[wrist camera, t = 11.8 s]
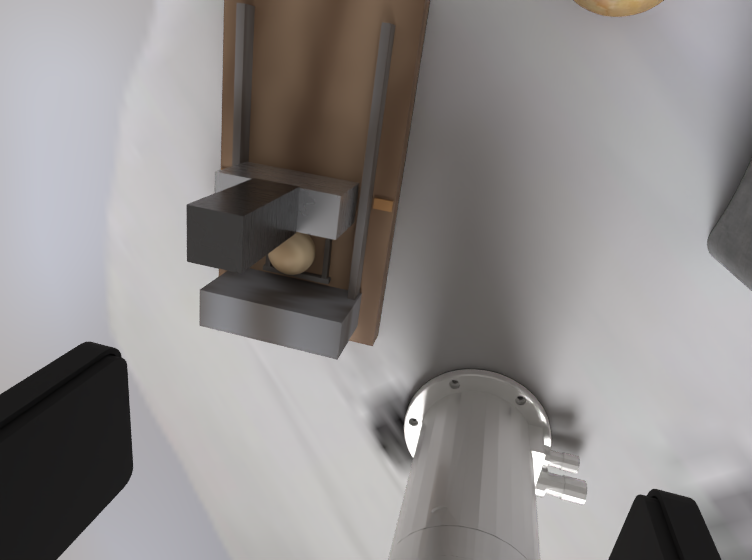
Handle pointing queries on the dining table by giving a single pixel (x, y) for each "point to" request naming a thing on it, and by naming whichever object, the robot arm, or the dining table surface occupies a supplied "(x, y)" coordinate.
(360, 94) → the cracker base
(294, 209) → the jaw
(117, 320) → the dining table surface
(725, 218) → the hip flask
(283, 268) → the beige round ball
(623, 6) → the onion
